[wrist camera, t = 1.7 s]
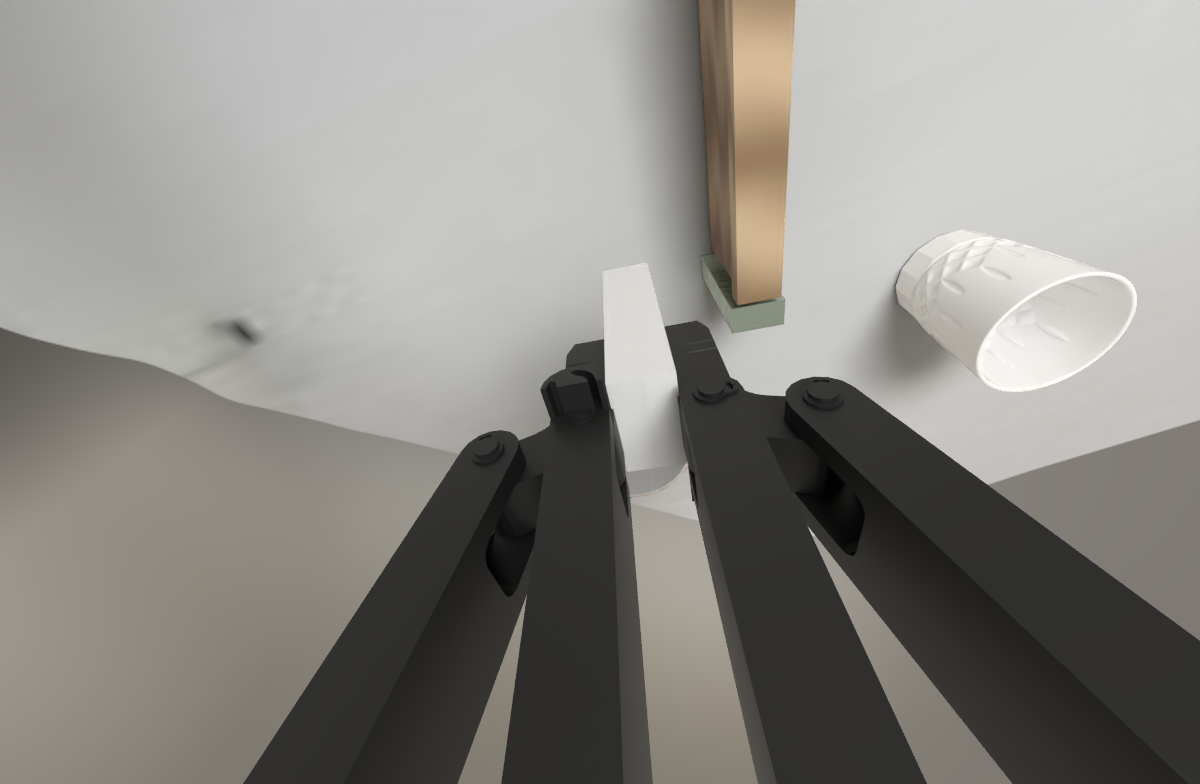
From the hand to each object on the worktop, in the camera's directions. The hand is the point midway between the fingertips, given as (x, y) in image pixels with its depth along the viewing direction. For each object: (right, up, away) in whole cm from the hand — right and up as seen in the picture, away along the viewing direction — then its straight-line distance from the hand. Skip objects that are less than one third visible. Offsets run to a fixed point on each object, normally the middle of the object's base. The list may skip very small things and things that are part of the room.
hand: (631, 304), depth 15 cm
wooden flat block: (+6, +13, +11) cm, 18 cm away
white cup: (+25, +6, +18) cm, 32 cm away
